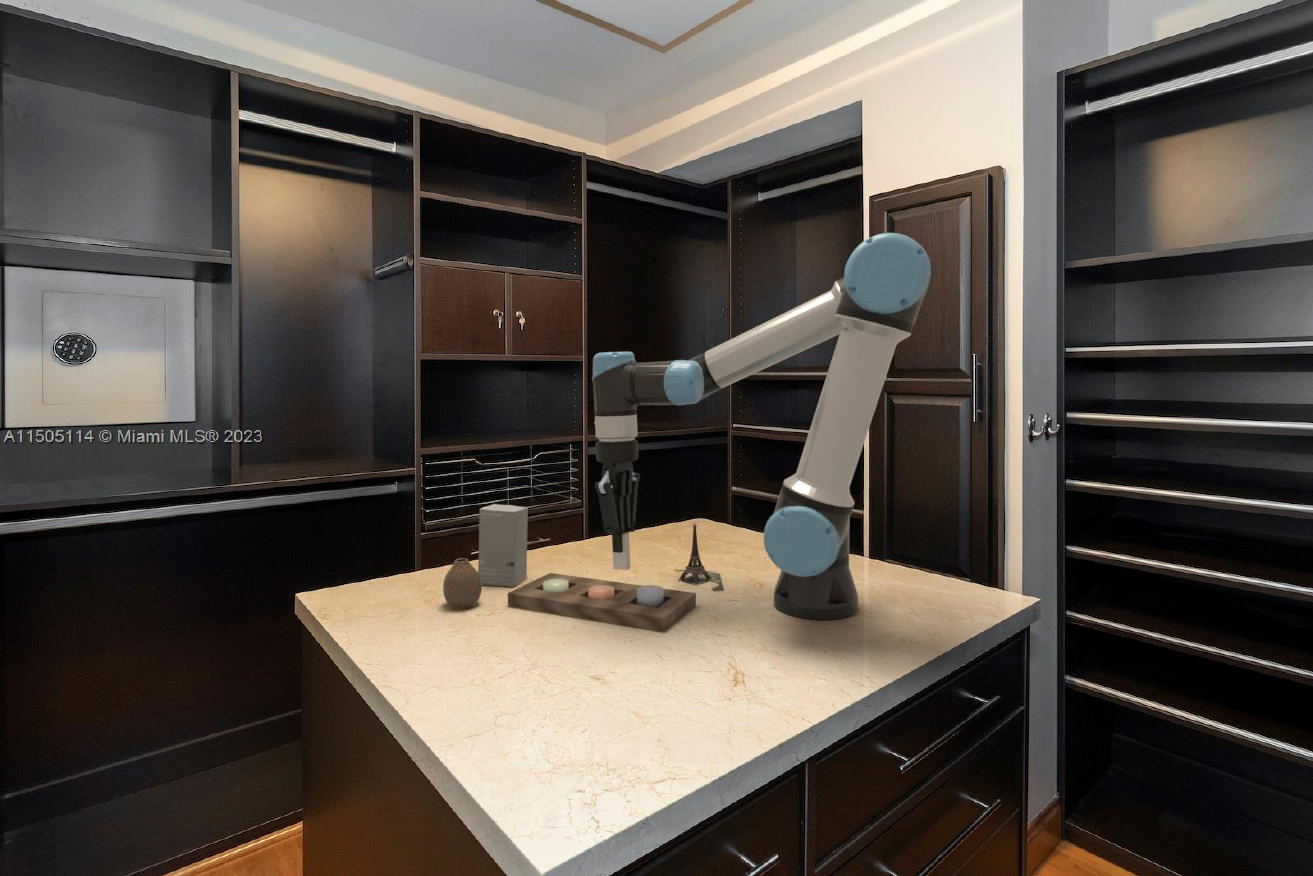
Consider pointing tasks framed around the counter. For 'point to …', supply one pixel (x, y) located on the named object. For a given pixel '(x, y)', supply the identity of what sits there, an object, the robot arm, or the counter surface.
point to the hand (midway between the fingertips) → (621, 568)
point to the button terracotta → (601, 592)
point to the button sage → (555, 585)
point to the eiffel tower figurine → (699, 569)
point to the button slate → (650, 596)
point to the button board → (603, 603)
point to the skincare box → (503, 545)
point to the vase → (462, 585)
